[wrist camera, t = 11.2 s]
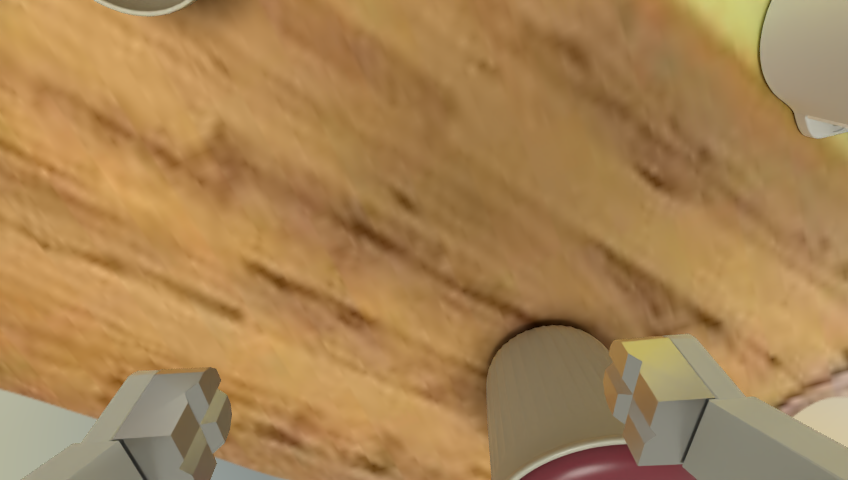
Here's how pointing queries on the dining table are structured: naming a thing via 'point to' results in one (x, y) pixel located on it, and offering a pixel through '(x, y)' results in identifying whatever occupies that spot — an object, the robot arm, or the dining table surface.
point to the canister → (558, 412)
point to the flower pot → (146, 6)
